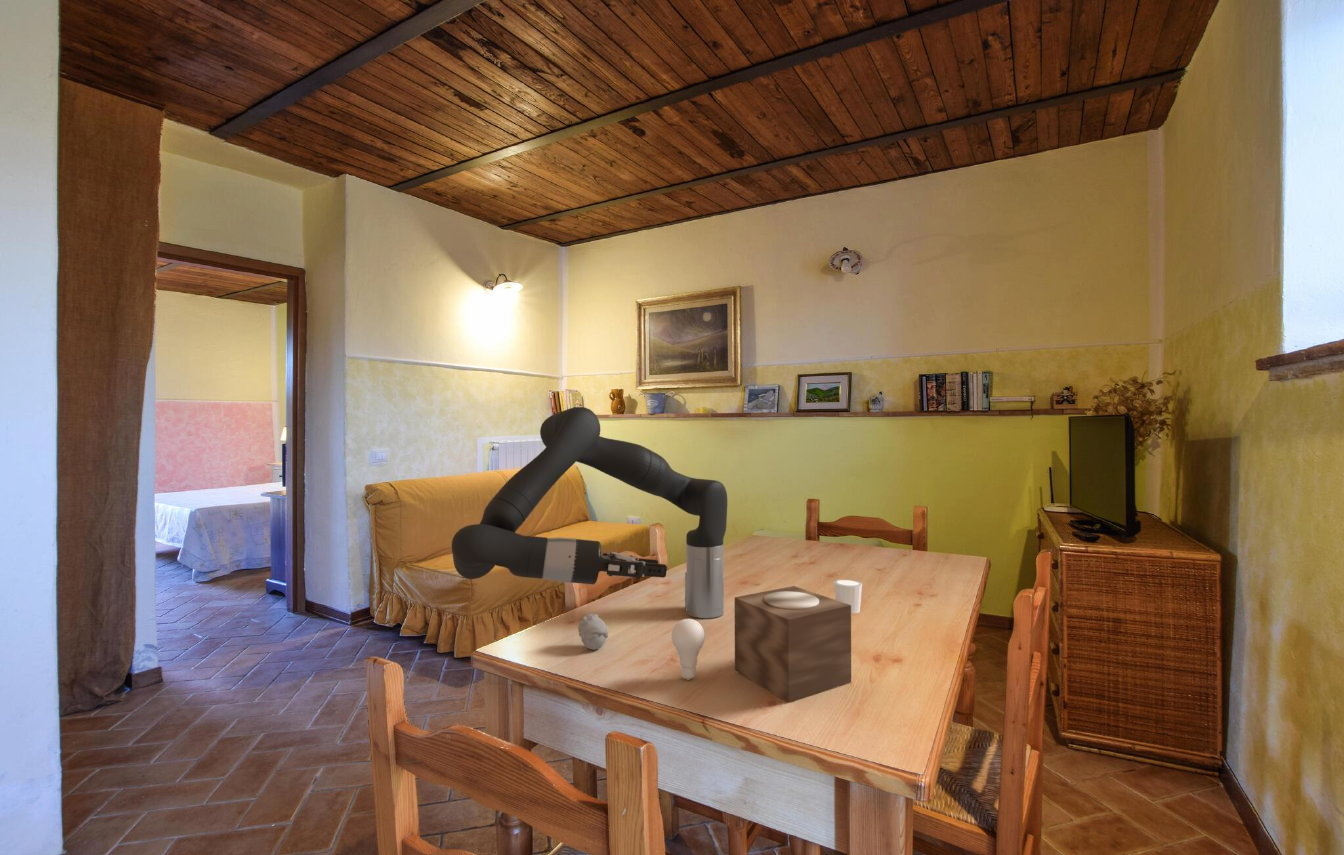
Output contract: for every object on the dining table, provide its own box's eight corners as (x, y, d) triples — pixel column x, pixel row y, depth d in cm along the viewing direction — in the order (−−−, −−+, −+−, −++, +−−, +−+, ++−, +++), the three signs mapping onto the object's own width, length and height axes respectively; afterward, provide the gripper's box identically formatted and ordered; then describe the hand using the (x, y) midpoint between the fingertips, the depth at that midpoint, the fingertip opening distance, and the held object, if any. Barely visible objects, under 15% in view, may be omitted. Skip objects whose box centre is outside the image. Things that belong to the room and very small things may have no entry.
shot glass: (865, 608, 149) (865, 581, 149) (858, 616, 143) (858, 587, 143) (838, 604, 152) (838, 577, 152) (830, 611, 147) (830, 583, 147)
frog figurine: (594, 640, 128) (594, 608, 128) (615, 649, 123) (615, 615, 123) (571, 647, 123) (571, 614, 123) (591, 657, 118) (591, 622, 118)
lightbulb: (702, 687, 104) (702, 626, 104) (668, 685, 105) (668, 624, 105) (707, 673, 110) (707, 615, 110) (675, 671, 111) (675, 613, 111)
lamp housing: (734, 670, 111) (734, 595, 111) (795, 654, 119) (795, 583, 119) (788, 702, 98) (788, 617, 98) (852, 681, 106) (852, 602, 106)
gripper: (575, 541, 96) (671, 550, 99) (572, 536, 110) (657, 544, 113) (569, 587, 95) (667, 595, 98) (567, 577, 109) (652, 584, 112)
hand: (661, 568), depth 106 cm, fingers open, 8 cm apart
